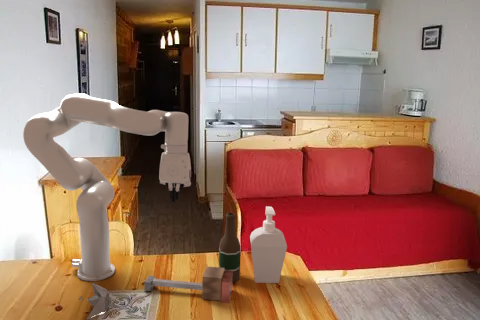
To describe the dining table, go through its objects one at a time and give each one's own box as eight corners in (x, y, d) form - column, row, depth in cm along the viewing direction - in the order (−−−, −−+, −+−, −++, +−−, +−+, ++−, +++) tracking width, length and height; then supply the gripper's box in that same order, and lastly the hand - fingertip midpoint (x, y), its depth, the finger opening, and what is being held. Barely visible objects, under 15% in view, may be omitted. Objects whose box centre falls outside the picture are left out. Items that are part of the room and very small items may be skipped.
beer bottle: (237, 284, 138) (239, 218, 133) (215, 281, 139) (217, 216, 134) (241, 274, 145) (244, 211, 140) (221, 271, 146) (222, 209, 142)
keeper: (202, 298, 127) (202, 276, 126) (206, 287, 134) (206, 266, 133) (220, 300, 127) (221, 278, 125) (224, 289, 134) (224, 267, 132)
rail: (142, 294, 129) (142, 274, 128) (150, 282, 137) (150, 263, 135) (228, 302, 126) (229, 282, 125) (232, 289, 134) (232, 270, 133)
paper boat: (110, 316, 115) (76, 314, 112) (105, 326, 119) (72, 324, 115) (114, 279, 124) (83, 275, 120) (109, 289, 127) (79, 286, 124)
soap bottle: (281, 270, 149) (285, 204, 143) (284, 284, 139) (289, 214, 133) (248, 269, 148) (251, 203, 143) (249, 283, 138) (252, 213, 133)
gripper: (150, 149, 131) (150, 202, 135) (194, 152, 129) (192, 206, 133) (158, 145, 139) (158, 196, 142) (200, 149, 136) (198, 200, 140)
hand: (174, 201), depth 138 cm, fingers closed
